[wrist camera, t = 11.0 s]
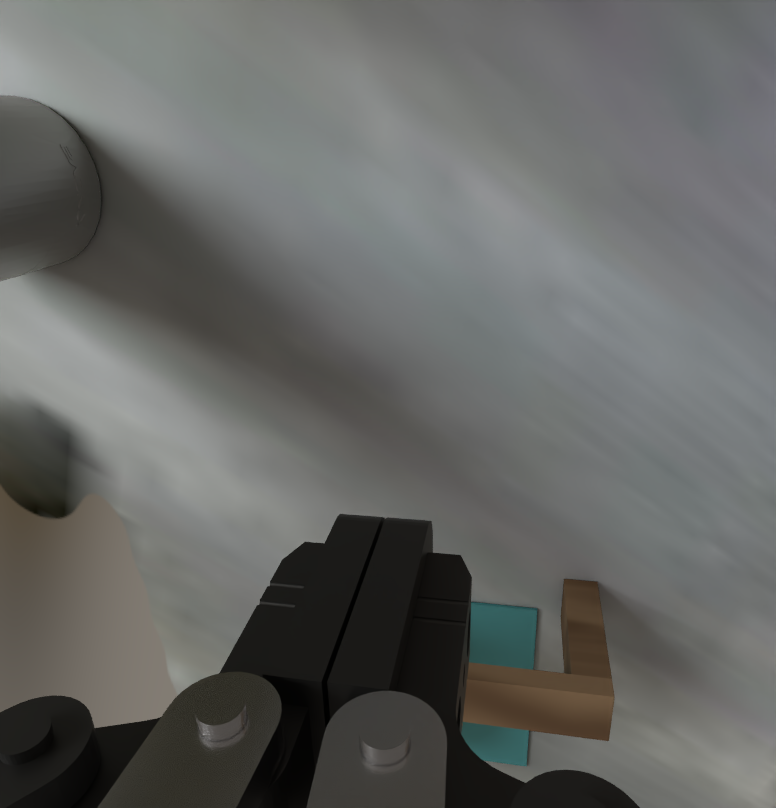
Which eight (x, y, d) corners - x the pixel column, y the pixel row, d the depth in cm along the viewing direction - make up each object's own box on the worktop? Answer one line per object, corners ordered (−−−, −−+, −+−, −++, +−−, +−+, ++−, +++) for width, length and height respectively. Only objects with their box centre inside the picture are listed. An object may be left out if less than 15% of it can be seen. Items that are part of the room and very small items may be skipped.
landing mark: (390, 744, 51) (390, 747, 51) (385, 593, 45) (384, 595, 45) (526, 764, 49) (526, 766, 49) (537, 608, 43) (537, 610, 43)
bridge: (593, 620, 43) (608, 741, 35) (335, 594, 46) (292, 699, 38) (597, 581, 42) (614, 697, 34) (332, 557, 45) (288, 657, 37)
